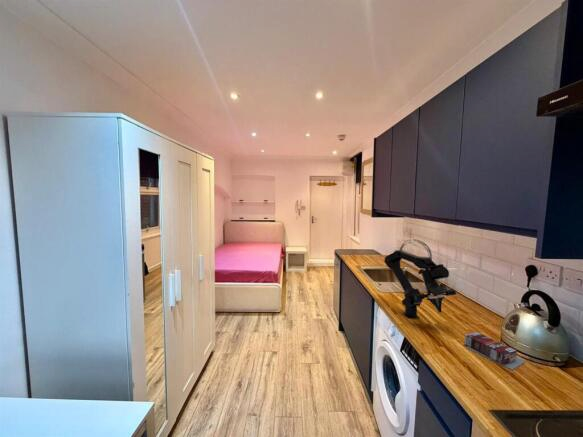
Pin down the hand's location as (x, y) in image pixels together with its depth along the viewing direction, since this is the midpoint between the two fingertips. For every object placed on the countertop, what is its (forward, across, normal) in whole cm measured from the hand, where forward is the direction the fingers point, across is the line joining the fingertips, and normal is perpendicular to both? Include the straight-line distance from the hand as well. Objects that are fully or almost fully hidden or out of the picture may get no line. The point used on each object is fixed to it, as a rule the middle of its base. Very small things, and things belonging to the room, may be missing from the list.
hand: (440, 312), depth 128 cm
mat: (+19, +13, -10) cm, 25 cm away
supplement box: (+12, +8, -5) cm, 15 cm away
